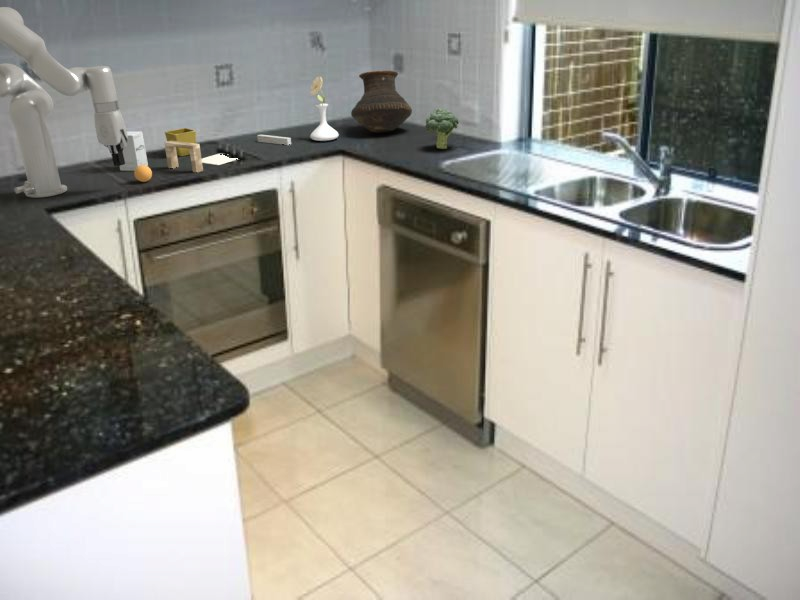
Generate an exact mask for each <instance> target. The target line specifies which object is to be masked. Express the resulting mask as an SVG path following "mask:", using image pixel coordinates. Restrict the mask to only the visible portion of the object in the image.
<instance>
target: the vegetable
mask: <svg viewBox="0 0 800 600" xmlns="http://www.w3.org/2000/svg"><path fill="white" fill-rule="evenodd" d="M459 123H460V122H459V119H458V117H457V116H456V115H455V114H453V112H452V111H451V110H449V109H448V110H447V109H446V108H442V107H437V108H435V109H434V110H431V112H430V114H429V116H427V117H426V118H425V128H426V131H428V132H429V133H430V134H431V133H433V132H434V131H435V132H436V138H437V141H436V142H435V144H436V148H437V149H441V150H445V149H446V150H447V149H448V142H447V141H448V137H449V136H450V135H451V133H452V132H453V130H456V129H458V125H459Z"/></svg>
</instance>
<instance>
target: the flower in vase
mask: <svg viewBox="0 0 800 600" xmlns="http://www.w3.org/2000/svg"><path fill="white" fill-rule="evenodd" d="M323 82H324V81H323V78H322V76H316V78H315V80H312V85H311V87H310V95H311V96H312V97H315V96H316V95H317V94H318V95H317V99H318V100H319V101H320V102H322V103H318V104H315V107H316V108H317V110H318V113H319V119H320V122H319V125H318V126H317V127H316V128H315V129H314V130H312V132H311V134H310V136H309V137H310V139H311V140H312V141H313V140H314V141H320V142H327V141H328V142H329V141H332V140H335V139H337V138H338V137H339V135H340V134H339V132H338V131H337V130H336V129H334V128H333V127H332V126H330V125H329V124H328V122H327V109H328V106H329V103H326V96H325V95H324V92H323V91H322V89H321V88H322V87H323ZM319 92H321V95H322V96H321V95H320V94H319Z"/></svg>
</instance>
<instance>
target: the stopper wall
mask: <svg viewBox="0 0 800 600" xmlns="http://www.w3.org/2000/svg"><path fill="white" fill-rule="evenodd" d="M256 135H257V136H256V137H257V142H258V143H265V144H275V145H282V144H284V146H290V145H292V138H291V137H288V136H287V137H286V136H280V135H279V136H277V135H268V134H267V135H266V134H256ZM289 144H290V145H289Z"/></svg>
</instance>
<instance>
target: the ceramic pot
mask: <svg viewBox="0 0 800 600" xmlns="http://www.w3.org/2000/svg"><path fill="white" fill-rule="evenodd" d="M398 75H399V73H398V72H397V71H394V70H374V71H373V70H372V71H366V72H362V73H360V74H359V76H358V78H360V79H361V80H362V83H363V92H364V93H363V95H362V96H361V98H360V100H358V101H357V103H356V104H355V106H354V107H352V109H351V112H350V114H351V116H352V118H353V119H355V121H357V123H359V125H362V126H363V127H364V128H366V130H368V131H370V132H371V133H374V134H382V133H388V132H390V133H391V132H393V131H394V130H396V129H397V128H398V127H400V126H402V125H403V123H404V122H405V121H406V120H407V119H409V117H410V116H411V115H412V111H413V109H412V107H411V106H410V105H409V103H408V102H407V101H406V100H405V98H404V97H403V96H401V94H400V93H398V91H397V90H396V78H397V77H398Z"/></svg>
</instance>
